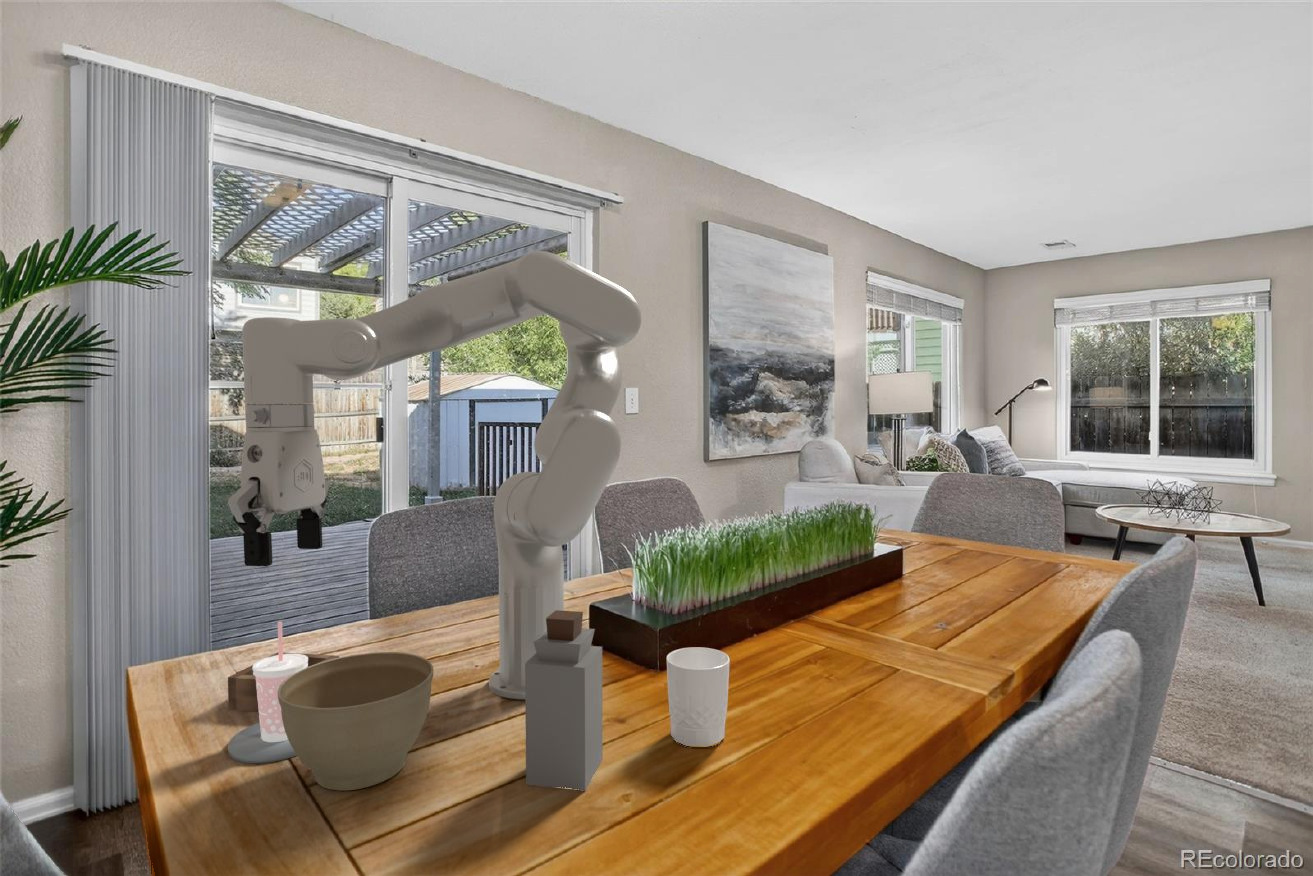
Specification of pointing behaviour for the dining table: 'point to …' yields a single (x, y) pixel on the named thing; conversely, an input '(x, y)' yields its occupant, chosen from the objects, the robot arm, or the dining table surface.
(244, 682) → the square wooden frame
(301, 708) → the planter bowl
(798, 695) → the dining table surface
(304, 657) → the beverage cup
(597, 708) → the perfume bottle
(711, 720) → the white cup
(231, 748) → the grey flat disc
